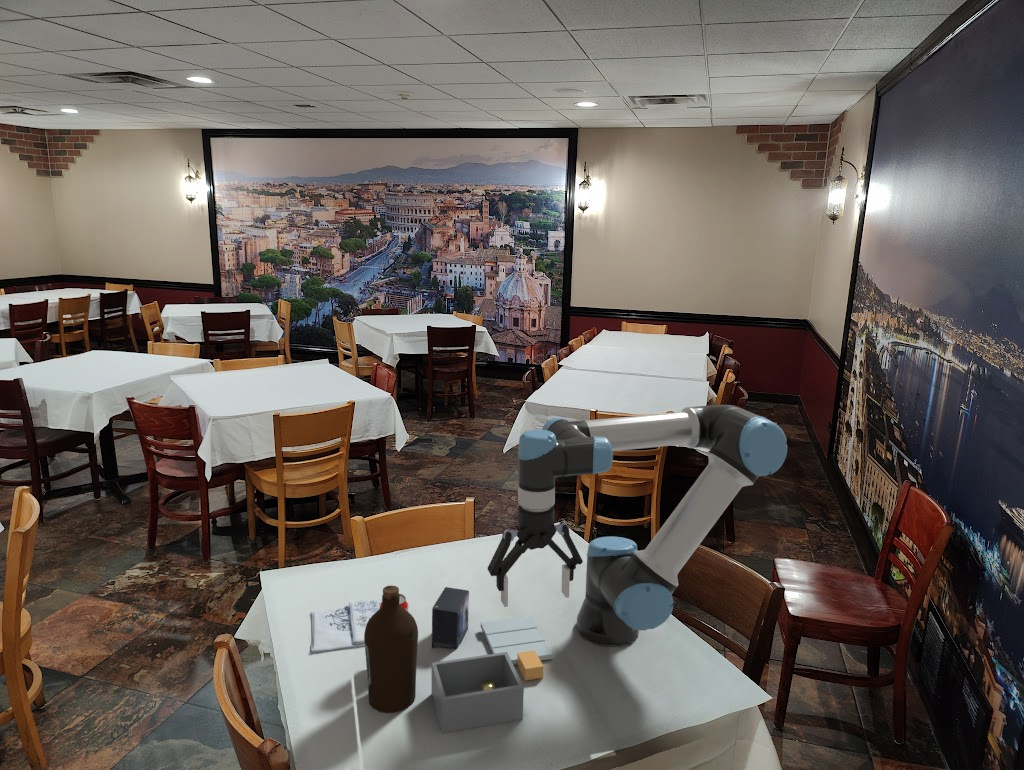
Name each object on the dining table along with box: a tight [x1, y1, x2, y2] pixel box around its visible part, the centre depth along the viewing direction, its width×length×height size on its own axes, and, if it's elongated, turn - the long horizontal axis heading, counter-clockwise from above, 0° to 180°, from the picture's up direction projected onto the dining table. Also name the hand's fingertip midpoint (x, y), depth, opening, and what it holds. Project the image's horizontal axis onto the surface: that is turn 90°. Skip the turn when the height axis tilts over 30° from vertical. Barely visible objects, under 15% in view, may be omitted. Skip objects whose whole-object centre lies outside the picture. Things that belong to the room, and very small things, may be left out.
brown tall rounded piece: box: [364, 585, 419, 714], centre depth 140 cm, size 11×11×25 cm
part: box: [481, 680, 496, 691], centre depth 143 cm, size 3×3×3 cm
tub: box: [431, 652, 525, 734], centre depth 140 cm, size 16×12×8 cm
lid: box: [480, 615, 554, 682], centre depth 160 cm, size 23×13×4 cm, turn 16°
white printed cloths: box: [309, 598, 382, 655], centre depth 169 cm, size 19×20×2 cm
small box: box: [430, 586, 470, 651], centre depth 164 cm, size 11×6×10 cm, turn 168°
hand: (535, 599), depth 148 cm, fingers open, 13 cm apart
